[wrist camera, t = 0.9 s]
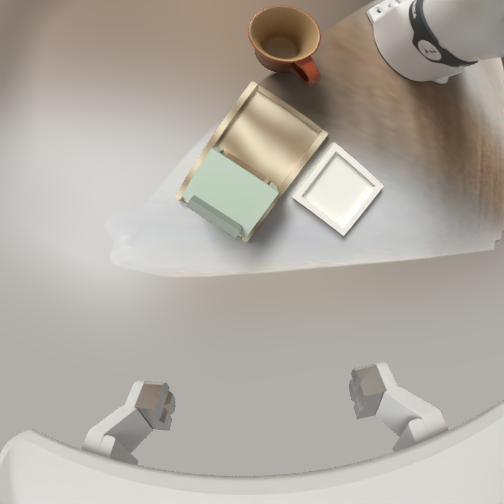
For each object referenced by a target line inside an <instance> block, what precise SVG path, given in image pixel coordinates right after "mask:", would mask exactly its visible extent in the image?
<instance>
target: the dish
mask: <svg viewBox="0 0 504 504" xmlns="http://www.w3.org/2000/svg"><path fill="white" fill-rule="evenodd" d="M382 187H383V185H382V184H381V183H380V182H379V181H378V180H377V179H376V178H375V177H374V176H373V175H372V174H370V173H369V172H368V171H367V170H366V169H365V168H364V167H363V166H362V165H361V164H359V163H358V162H357V161H356V160H355V159H354V158H353V157H351V156H350V155H349V154H348V153H347V152H345V151H344V150H343V149H342V148H341V147H339V146H338V145H337V144H336V143H335V142H332V143H331V144H330V145H329V147H328V148H327V149H326V150H325V152H324V153H323V154H322V156H321V157H320V158H319V160H318V161H317V162H316V164H315V165H314V166H313V168H312V169H311V170H310V171H309V173H308V174H307V175H306V177H305V178H304V179H303V181H302V182H301V183H300V185H299V186H298V187H297V189H296V190H295V191H294V193H293V194H292V198H294V199H295V200H297V201H298V202H299V203H301V204H302V205H303V206H305V207H306V208H308V209H309V210H310V211H312V212H313V213H314V214H316V215H317V216H318V217H320V218H321V219H322V220H324V221H325V222H326V223H328V224H329V225H330V226H331V227H333V228H334V229H335V230H337V231H338V232H339V233H340V234H342V235H343V236H344V235H345V234H346V233H347V232H348V230H349V229H350V228H351V227H352V225H353V224H354V223H355V222H356V221H357V219H358V218H359V217H360V216H361V214H362V213H363V212H364V211H365V209H366V208H367V207H368V205H369V204H370V203H371V202H372V200H373V199H374V198H375V197H376V195H377V194H378V193H379V191H380V190H381V189H382Z"/></svg>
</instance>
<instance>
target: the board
mask: <svg viewBox="0 0 504 504" xmlns="http://www.w3.org/2000/svg"><path fill="white" fill-rule="evenodd" d="M327 135H328V133H327V132H325V131H324V130H322V129H320V127H319V126H318V125H316V124H315V123H314V122H312V121H311V120H310V119H308V118H307V117H306V116H304V115H303V114H301V113H300V112H299V111H297V110H296V109H294V108H293V107H292V106H290V105H289V104H287V103H286V102H284V101H283V100H281V99H280V98H278V97H277V96H275V95H274V94H272V93H271V92H269V91H268V90H266V89H264V88H263V87H261V86H258V84H256V83H255V82H253V81H252V82H251V83H250V84H249V86H248V87H247V88H246V90H245V91H244V92H243V94H242V95H241V96H240V98H239V99H238V100H237V102H236V103H235V104H234V106H233V107H232V109H231V110H230V111H229V113H228V114H227V116H226V117H225V118H224V120H223V121H222V123H221V124H220V126H219V127H218V129H217V130H216V132H215V133H214V135H213V136H212V138H211V139H210V141H209V142H208V144H207V145H206V147H205V148H204V150H203V151H202V153H201V154H200V156H199V158H198V159H197V161H196V162H195V164H194V166H193V167H192V169H191V170H190V172H189V174H188V175H187V177H186V179H185V180H184V182H183V184H182V185H181V187H180V189H179V190H178V192H177V194H176V196H175V197H176V198H177V199H179V200H181V199H182V200H183V201H185V202H187V203H188V202H189V201H188V200H186V199H185V198H183V197H182V194H183V193H184V191H185V189H186V188H187V186H188V184H189V183H190V181H191V179H192V178H193V176H194V175H195V173H196V171H197V170H198V168H199V167H200V165H201V163H202V162H203V160H204V159H205V157H206V156H207V154H208V153H209V151H210V149H211V148H214V147H217V146H218V147H220V148H221V149H223V151H222V152H221V154H223V155H224V156H226V157H227V158H229V159H230V160H232V161H234V162H235V163H237V164H238V165H240V166H241V167H243V168H244V169H246V170H247V171H249V172H250V173H252V174H253V175H255V176H256V177H258V178H259V179H261V180H262V181H264V182H265V183H267V184H268V185H269V184H270V183H271V182H272V183H274V184H275V185H277V188H278V192H279V194H278V195H277V196H276V198H275V199H274V200H273V202H272V203H271V204H270V206H269V207H268V208H267V210H266V211H265V212H264V214H263V215H262V217H261V218H260V219H259V221H258V222H257V223H256V225H255V226H254V227H253V229H252V230H251V231H250V233H249V234H248V236H247V237H244V236H243V235H241V234H240V233H239V235H238V236H240V237H241V238H242V240H243V241H244V242H246V243H247V242H248V240H249V239H250V238H251V236H252V235H253V233H254V232H255V231H256V229H257V228H258V227H259V225H260V224H261V223H262V221H263V220H264V219H265V217H266V216H267V215H268V213H269V212H270V211H271V209H272V208H273V207H274V205H275V204H276V203H277V201H278V200H279V199H280V197H281V196H282V195H283V193H284V192H285V191H286V189H287V188H288V187H289V185H290V184H291V183H292V181H293V180H294V179H295V177H296V176H297V175H298V173H299V172H300V171H301V169H302V168H303V167H304V165H305V164H306V163H307V161H308V160H309V159H310V158H311V156H312V155H313V154H314V152H315V151H316V150H317V148H318V147H319V146H320V144H321V143H322V142H323V140H324V139H325V138H326V136H327Z"/></svg>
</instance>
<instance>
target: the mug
mask: <svg viewBox="0 0 504 504" xmlns="http://www.w3.org/2000/svg"><path fill="white" fill-rule="evenodd" d="M248 34H249V39H250V42H251V43H252V45H253V47H254V48H255V54H256V57H257V59H258V60H259V62H260V63H261V64H262V65H263V66H264V67H266V68H267V69H269V70H271V71H274V72H289V71H291V72H292V73H293V74H294V75H296V76H297V77H298V78H299V79H300V80H301V81H302V82H303V83H305V84H306V85H308V86H312V85H314V84H316V83H318V82H319V81H320V74H319V71H318V70H317V68H316V66H315V65H314V62H313V59H312V57H311V55H312V54H314V53H315V52H316V50H317V48H318V46H319V43H320V39H321V35H320V30H319V27H318V25H317V23H316V22H315V20H314V19H313V18H312V17H311V16H310V15H309V14H307V13H306V12H304V11H302V10H300V9H298V8H295V7H291V6H283V5H280V6H272V7H269V8H266V9H263V10H262V11H260V12H259V13H257V14H256V15H255V16H254V18H253V19H252V20H251V22H250V24H249V29H248Z"/></svg>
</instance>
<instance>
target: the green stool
mask: <svg viewBox="0 0 504 504" xmlns="http://www.w3.org/2000/svg"><path fill="white" fill-rule="evenodd" d="M222 151H223V149H221V148H220V147H218V146H217V147H214V148H211V149H210V151H209V153H208V154H207V156H206V157H205V159H204V160H203V162H202V163H201V165H200V167H199V168H198V170H197V171H196V173H195V175H194V176H193V178H192V179H191V181H190V183H189V184H188V186H187V188H186V189H185V191H184V193H183V194H182V197H183V198H185V199H186V200H188V201H189V202H188V203H187V205H186V207H188V208H189V209H191V210H192V211H194V212H196V213H197V214H199V215H200V216H202V217H203V218H205V219H207V220H208V221H210V222H211V223H213V224H214V225H216V226H217V227H219V228H221V229H222V230H224V231H225V232H227V233H228V234H230V235H232V236H233V237H235V238H236V237H237V236H238V235H239V233H240V234H241V235H243V236H244V237H247V236H248V234H249V233H250V231H251V230H252V229H253V227H254V226H255V225H256V223H257V222H258V221H259V219H260V218H261V217H262V215H263V214H264V212H265V211H266V210H267V208H268V207H269V206H270V204H271V203H272V202H273V200H274V199H275V198H276V196H277V195H278V194H279V192H278V188H277V185H275V184H274V183H272V182H271V183H270V184H269V185H268V184H267V183H265V182H264V181H262V180H261V179H259V178H258V177H256V176H255V175H253V174H252V173H250V172H249V171H247V170H246V169H244V168H243V167H241V166H240V165H238V164H237V163H235V162H234V161H232V160H230V159H229V158H227V157H226V156H224V155H223V154H221V152H222Z"/></svg>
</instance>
